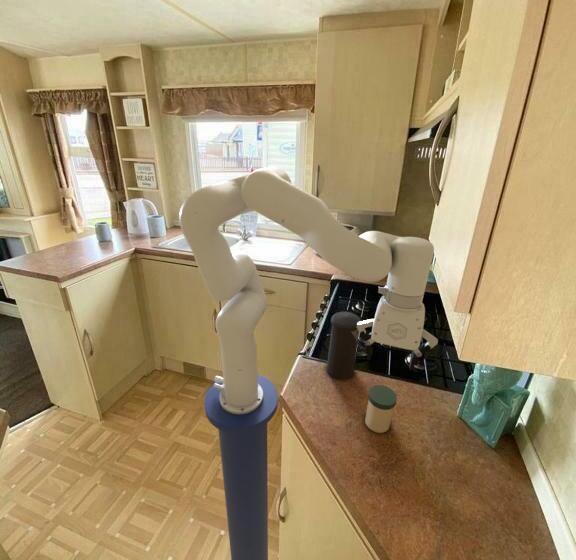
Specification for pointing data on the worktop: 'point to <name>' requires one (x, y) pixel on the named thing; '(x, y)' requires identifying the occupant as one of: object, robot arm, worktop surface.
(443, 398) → the worktop surface
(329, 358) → the container
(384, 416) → the jam jar
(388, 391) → the jam lid
